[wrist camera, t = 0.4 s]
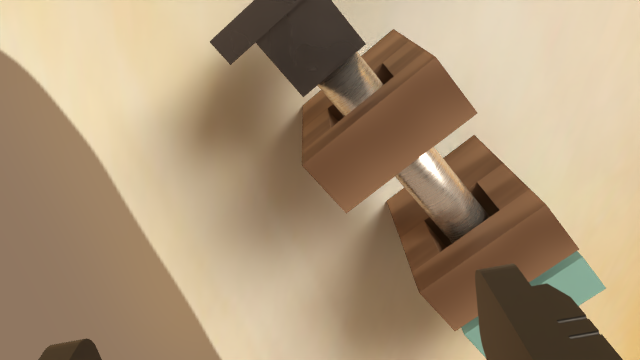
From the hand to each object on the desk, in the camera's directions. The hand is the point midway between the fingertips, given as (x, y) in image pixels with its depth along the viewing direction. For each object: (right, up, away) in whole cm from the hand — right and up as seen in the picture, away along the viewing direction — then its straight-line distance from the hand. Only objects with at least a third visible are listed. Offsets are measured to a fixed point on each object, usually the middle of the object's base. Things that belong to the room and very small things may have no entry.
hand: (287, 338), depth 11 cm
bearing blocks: (+6, +6, +22) cm, 24 cm away
